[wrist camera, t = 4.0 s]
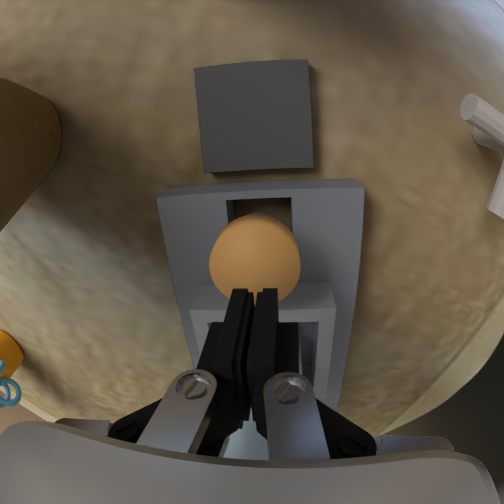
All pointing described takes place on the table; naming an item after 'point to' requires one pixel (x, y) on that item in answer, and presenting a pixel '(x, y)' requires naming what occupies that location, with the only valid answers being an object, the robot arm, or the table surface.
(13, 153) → the plant pot
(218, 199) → the housing
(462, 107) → the pipe connector
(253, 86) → the mat
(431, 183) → the table surface
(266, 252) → the light orange ball
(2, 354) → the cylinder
